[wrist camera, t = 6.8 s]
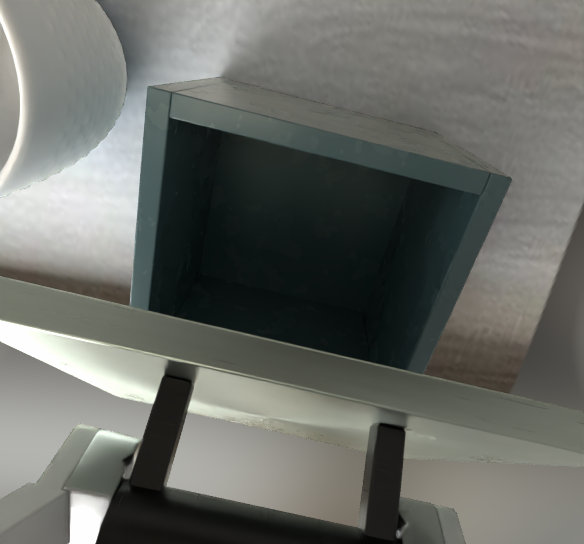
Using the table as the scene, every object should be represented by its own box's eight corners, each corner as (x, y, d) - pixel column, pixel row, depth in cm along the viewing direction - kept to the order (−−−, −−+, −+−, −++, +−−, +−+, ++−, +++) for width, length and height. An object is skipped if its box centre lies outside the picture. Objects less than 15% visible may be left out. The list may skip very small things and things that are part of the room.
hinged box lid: (-60, 261, 8) (-236, 567, 6) (651, 426, 9) (690, 753, 7) (122, 379, 21) (84, 487, 20) (394, 441, 22) (383, 551, 20)
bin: (218, 76, 26) (147, 85, 16) (438, 132, 27) (513, 178, 16) (189, 276, 32) (122, 382, 22) (370, 319, 33) (393, 442, 22)
